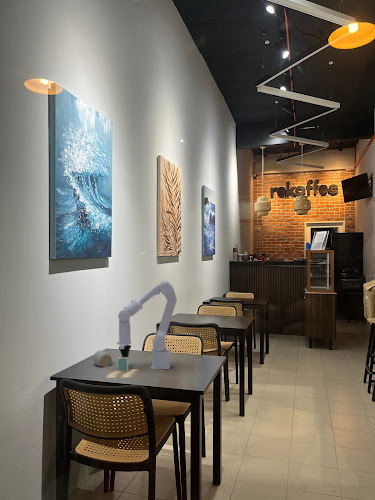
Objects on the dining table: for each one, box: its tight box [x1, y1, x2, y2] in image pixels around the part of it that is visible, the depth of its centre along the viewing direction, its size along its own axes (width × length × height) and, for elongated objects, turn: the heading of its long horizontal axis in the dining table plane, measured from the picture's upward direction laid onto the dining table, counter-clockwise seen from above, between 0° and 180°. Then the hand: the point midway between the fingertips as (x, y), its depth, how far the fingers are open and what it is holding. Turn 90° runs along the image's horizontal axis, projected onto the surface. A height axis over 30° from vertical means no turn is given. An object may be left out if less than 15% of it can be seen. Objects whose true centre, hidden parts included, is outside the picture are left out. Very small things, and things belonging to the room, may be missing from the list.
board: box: [104, 368, 141, 379], centre depth 194 cm, size 14×14×1 cm
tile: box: [116, 356, 129, 371], centre depth 198 cm, size 5×2×6 cm, turn 86°
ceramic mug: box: [92, 350, 116, 368], centre depth 212 cm, size 11×8×8 cm
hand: (125, 360), depth 204 cm, fingers closed
